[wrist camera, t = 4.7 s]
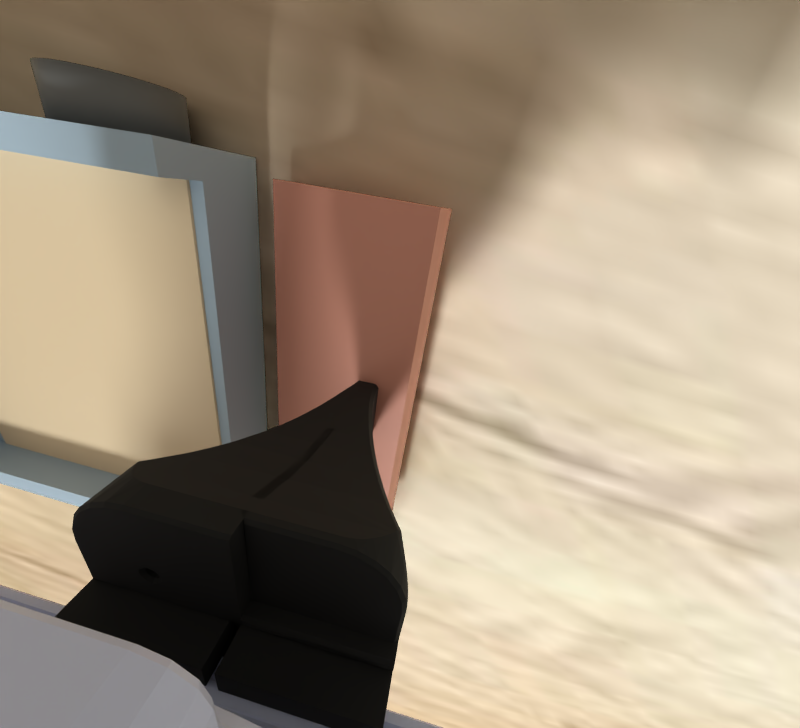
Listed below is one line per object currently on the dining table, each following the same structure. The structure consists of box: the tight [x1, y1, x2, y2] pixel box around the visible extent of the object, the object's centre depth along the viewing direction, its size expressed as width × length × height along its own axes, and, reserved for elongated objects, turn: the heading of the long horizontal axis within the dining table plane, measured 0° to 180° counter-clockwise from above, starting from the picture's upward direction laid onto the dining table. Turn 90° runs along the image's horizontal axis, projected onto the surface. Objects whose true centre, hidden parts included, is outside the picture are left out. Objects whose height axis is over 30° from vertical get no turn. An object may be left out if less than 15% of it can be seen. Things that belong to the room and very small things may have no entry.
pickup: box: [0, 58, 267, 507], centre depth 12 cm, size 16×17×5 cm
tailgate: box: [273, 179, 452, 510], centre depth 12 cm, size 13×1×6 cm
